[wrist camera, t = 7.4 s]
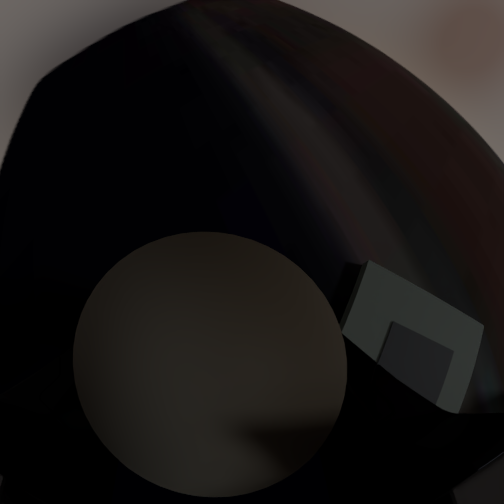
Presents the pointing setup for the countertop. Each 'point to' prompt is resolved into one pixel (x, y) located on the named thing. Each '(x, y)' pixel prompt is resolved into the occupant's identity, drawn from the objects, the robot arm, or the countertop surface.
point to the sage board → (413, 335)
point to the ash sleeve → (209, 364)
